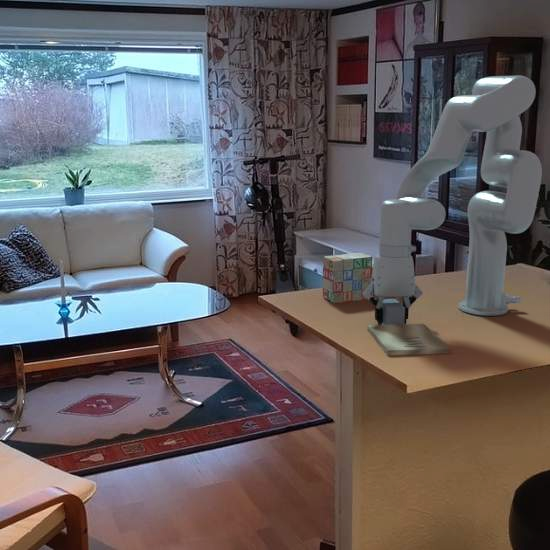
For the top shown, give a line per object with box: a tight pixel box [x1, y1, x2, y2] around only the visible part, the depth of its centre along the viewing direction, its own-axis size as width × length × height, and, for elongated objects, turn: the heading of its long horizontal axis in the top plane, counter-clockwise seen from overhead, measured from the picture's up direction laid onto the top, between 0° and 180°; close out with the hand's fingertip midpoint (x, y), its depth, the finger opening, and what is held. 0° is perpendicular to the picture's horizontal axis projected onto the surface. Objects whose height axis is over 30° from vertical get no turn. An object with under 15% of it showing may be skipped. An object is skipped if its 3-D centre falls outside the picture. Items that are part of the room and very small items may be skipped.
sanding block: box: [381, 298, 405, 325], centre depth 175 cm, size 4×8×6 cm, turn 7°
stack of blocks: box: [322, 252, 376, 304], centre depth 200 cm, size 21×6×12 cm, turn 114°
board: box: [367, 323, 451, 357], centre depth 163 cm, size 14×18×1 cm
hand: (391, 321), depth 175 cm, fingers open, 5 cm apart
